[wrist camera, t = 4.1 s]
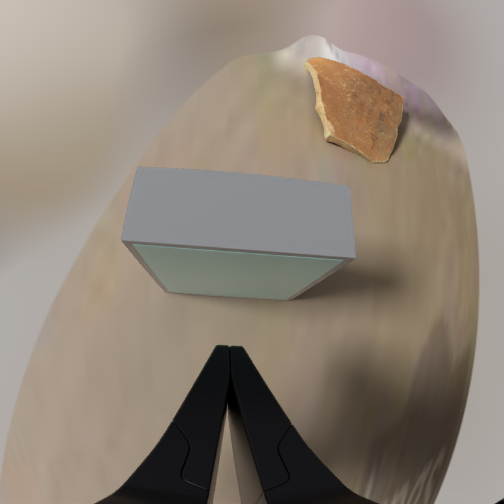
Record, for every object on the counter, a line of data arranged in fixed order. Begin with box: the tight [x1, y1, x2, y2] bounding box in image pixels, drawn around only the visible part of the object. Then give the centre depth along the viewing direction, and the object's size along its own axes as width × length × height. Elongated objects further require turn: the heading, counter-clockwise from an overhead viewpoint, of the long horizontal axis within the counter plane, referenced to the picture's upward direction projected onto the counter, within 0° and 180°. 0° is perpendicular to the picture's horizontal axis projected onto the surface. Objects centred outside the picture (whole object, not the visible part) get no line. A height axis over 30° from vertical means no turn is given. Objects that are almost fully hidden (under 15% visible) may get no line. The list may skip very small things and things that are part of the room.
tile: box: [121, 167, 356, 301], centre depth 13 cm, size 2×7×8 cm, turn 87°
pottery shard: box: [304, 57, 404, 164], centre depth 22 cm, size 10×9×2 cm
